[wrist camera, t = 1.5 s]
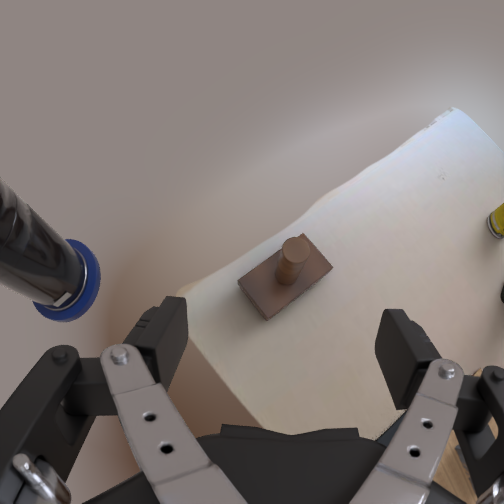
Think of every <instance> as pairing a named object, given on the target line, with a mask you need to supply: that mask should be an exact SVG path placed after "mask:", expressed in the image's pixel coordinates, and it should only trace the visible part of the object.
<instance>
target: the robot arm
mask: <svg viewBox="0 0 504 504" xmlns="http://www.w3.org/2000/svg"><path fill="white" fill-rule="evenodd" d="M87 281H88V266H87V263H86V260H85V258H84V257H83V255H82V254H81V253H80V252H79V251H78V250H77V249H75V248H73V247H72V246H71V245H70V244H69V243H68V242H67V241H66V240H65V239H63V238H62V237H61V236H60V235H59V234H58V233H57V232H56V231H55V230H54V229H53V228H52V227H50V226H49V225H48V224H47V223H46V222H45V221H44V220H43V219H42V218H41V217H40V216H39V215H38V214H37V213H36V212H35V211H34V210H33V209H32V208H31V207H30V206H29V205H28V204H26V203H25V202H24V201H23V200H22V199H21V198H20V197H19V196H18V195H17V194H16V193H15V192H14V190H13V189H12V188H11V187H10V186H9V185H8V184H7V183H6V182H5V181H4V180H3V179H2V178H1V177H0V285H2V286H4V287H6V288H8V289H10V290H12V291H14V292H16V293H18V294H20V295H22V296H24V297H26V298H28V299H30V300H32V301H34V302H36V303H38V304H41V305H43V306H44V307H46V308H48V309H50V310H53V311H63V310H66V309H68V308H70V307H72V306H73V305H74V304H76V303H77V302H78V300H79V299H80V298H81V296H82V295H83V293H84V291H85V288H86V286H87ZM426 335H427V334H426V333H425V331H424V330H423V328H422V327H421V326H419V325H418V324H417V323H415V322H414V321H410V319H409V318H408V316H407V315H406V313H405V312H404V310H403V309H385V310H384V311H383V314H382V318H381V322H380V326H379V329H378V333H377V337H376V341H375V355H376V358H377V360H378V363H379V365H380V368H381V370H382V373H383V375H384V378H385V381H386V383H387V386H388V388H389V391H390V394H391V396H392V399H393V402H394V405H395V407H396V410H402V409H408V411H407V413H406V415H405V416H404V418H403V420H402V422H401V424H400V426H399V427H398V429H397V431H396V433H395V435H394V436H393V438H392V440H391V441H390V443H389V445H388V447H387V446H385V445H383V444H381V443H379V442H376V441H374V440H371V439H367V438H362V437H359V433H358V428H337V429H322V430H317V431H313V432H308V433H302V434H297V435H287V434H282V433H278V432H274V431H270V430H266V429H262V428H258V427H250V426H238V425H227V424H222V427H221V432H220V433H218V434H210V435H205V436H202V437H198V438H196V439H195V437H194V436H193V434H192V433H191V431H190V430H189V428H188V426H187V425H186V423H185V422H184V420H183V419H182V417H181V415H180V414H179V412H178V411H177V409H176V407H175V406H174V404H173V402H172V401H171V399H170V397H169V396H168V394H167V391H168V388H169V386H170V384H171V381H172V379H173V376H174V373H175V371H176V369H177V367H178V364H179V362H180V359H181V357H182V355H183V352H184V350H185V347H186V345H187V340H188V320H187V304H186V299H185V298H183V297H172V296H166V298H165V299H164V300H163V302H162V303H161V305H160V307H152V308H150V309H149V310H147V311H146V312H144V314H143V315H142V316H141V318H140V320H139V321H138V322H137V323H136V325H135V327H134V328H133V329H132V330H131V332H130V333H129V335H128V336H127V337H126V339H125V340H124V342H123V343H122V344H116V345H113V346H110V347H108V348H106V349H105V350H104V351H103V352H102V353H101V355H100V357H98V358H80V357H79V354H78V351H77V350H76V348H74V347H72V346H69V345H59V346H55V347H52V348H50V349H49V350H47V351H46V352H45V353H44V355H43V356H42V357H41V358H40V360H39V361H38V362H37V363H36V364H35V366H34V367H33V368H32V369H31V371H30V372H29V373H28V374H27V376H26V377H25V378H24V379H23V381H22V382H21V383H20V384H19V386H18V387H17V388H16V390H15V391H14V392H13V394H12V395H11V396H10V398H9V399H8V400H7V402H6V403H5V404H4V406H3V407H2V408H1V410H0V504H70V503H71V493H70V490H69V488H68V487H67V486H66V484H65V483H66V480H67V478H68V476H69V473H70V471H71V469H72V467H73V465H74V463H75V460H76V458H77V456H78V454H79V452H80V449H81V447H82V445H83V443H84V441H85V439H86V437H87V435H88V432H89V430H90V428H91V426H92V424H93V422H94V420H95V418H96V416H99V415H102V416H105V415H118V418H119V421H120V423H121V426H122V428H123V431H124V433H125V436H126V438H127V441H128V443H129V445H130V447H131V450H132V452H133V455H134V457H135V459H136V461H137V464H138V466H139V468H140V470H141V471H140V472H139V473H137V474H135V475H134V476H132V477H130V478H128V479H127V480H125V481H123V482H121V483H119V484H118V485H116V486H114V487H112V488H110V489H109V490H107V491H105V492H103V493H101V494H100V495H97V496H96V497H94V498H92V499H90V500H88V501H86V502H84V503H82V504H467V503H466V502H464V501H463V500H461V499H460V498H458V497H457V496H455V495H454V494H452V493H451V492H449V491H448V490H446V489H445V488H444V487H442V486H441V485H439V484H438V483H436V482H435V481H434V480H433V478H434V475H435V473H436V471H437V468H438V466H439V463H440V461H441V458H442V456H443V453H444V450H445V448H446V445H447V442H448V439H449V436H450V434H451V431H452V430H454V432H455V435H456V438H457V440H458V443H459V445H460V448H461V451H462V454H463V456H464V459H465V462H466V465H467V468H468V471H469V474H470V477H471V480H472V483H473V486H474V489H475V492H476V495H477V501H476V504H504V369H503V368H500V367H498V366H487V367H485V368H484V369H483V371H482V373H481V375H480V377H478V376H470V375H464V372H463V369H462V368H461V367H460V366H459V365H458V364H457V363H455V362H453V361H451V360H448V359H442V357H441V356H440V354H439V353H438V351H437V350H436V348H435V346H434V345H433V343H432V342H430V339H429V337H428V336H426ZM492 417H493V418H494V420H495V422H496V424H497V426H498V435H497V438H496V439H495V437H494V435H493V433H492V431H491V428H490V426H489V424H488V423H489V422H490V420H491V419H492Z"/></svg>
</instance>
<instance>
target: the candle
mask: <svg viewBox="0 0 504 504" xmlns="http://www.w3.org/2000/svg"><path fill="white" fill-rule="evenodd" d="M501 299H502V302H503V303H504V286H503V289H502V293H501Z"/></svg>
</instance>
